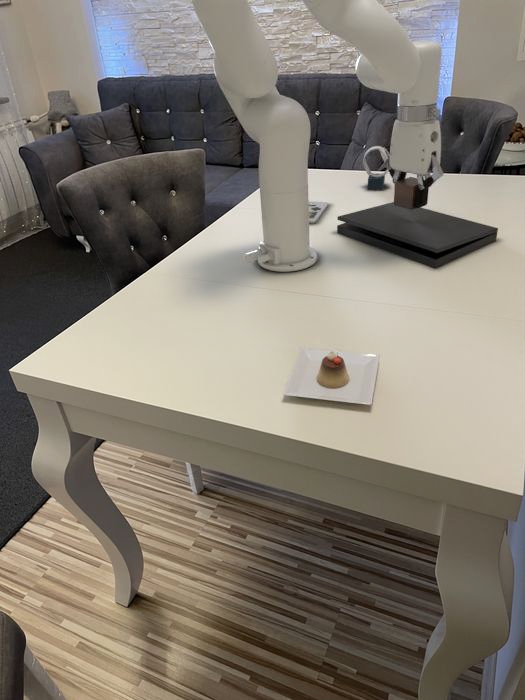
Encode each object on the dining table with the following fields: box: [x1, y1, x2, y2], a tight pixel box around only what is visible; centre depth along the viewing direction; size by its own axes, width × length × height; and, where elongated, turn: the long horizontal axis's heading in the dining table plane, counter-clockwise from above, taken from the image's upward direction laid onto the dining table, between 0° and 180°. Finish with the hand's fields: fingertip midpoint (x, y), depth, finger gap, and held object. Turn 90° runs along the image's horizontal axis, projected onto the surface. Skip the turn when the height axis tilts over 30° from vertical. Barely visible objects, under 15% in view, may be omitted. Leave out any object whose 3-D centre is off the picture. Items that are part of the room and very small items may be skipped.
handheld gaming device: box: [308, 200, 329, 225], centre depth 137 cm, size 9×1×15 cm
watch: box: [362, 145, 390, 191], centre depth 149 cm, size 6×8×11 cm
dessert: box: [281, 347, 381, 406], centre depth 75 cm, size 12×12×5 cm
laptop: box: [336, 222, 498, 269], centre depth 119 cm, size 20×28×2 cm
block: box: [393, 176, 425, 210], centre depth 114 cm, size 5×5×5 cm
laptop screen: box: [336, 201, 499, 253], centre depth 118 cm, size 20×28×1 cm
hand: (410, 202), depth 116 cm, fingers closed on block, 5 cm apart
